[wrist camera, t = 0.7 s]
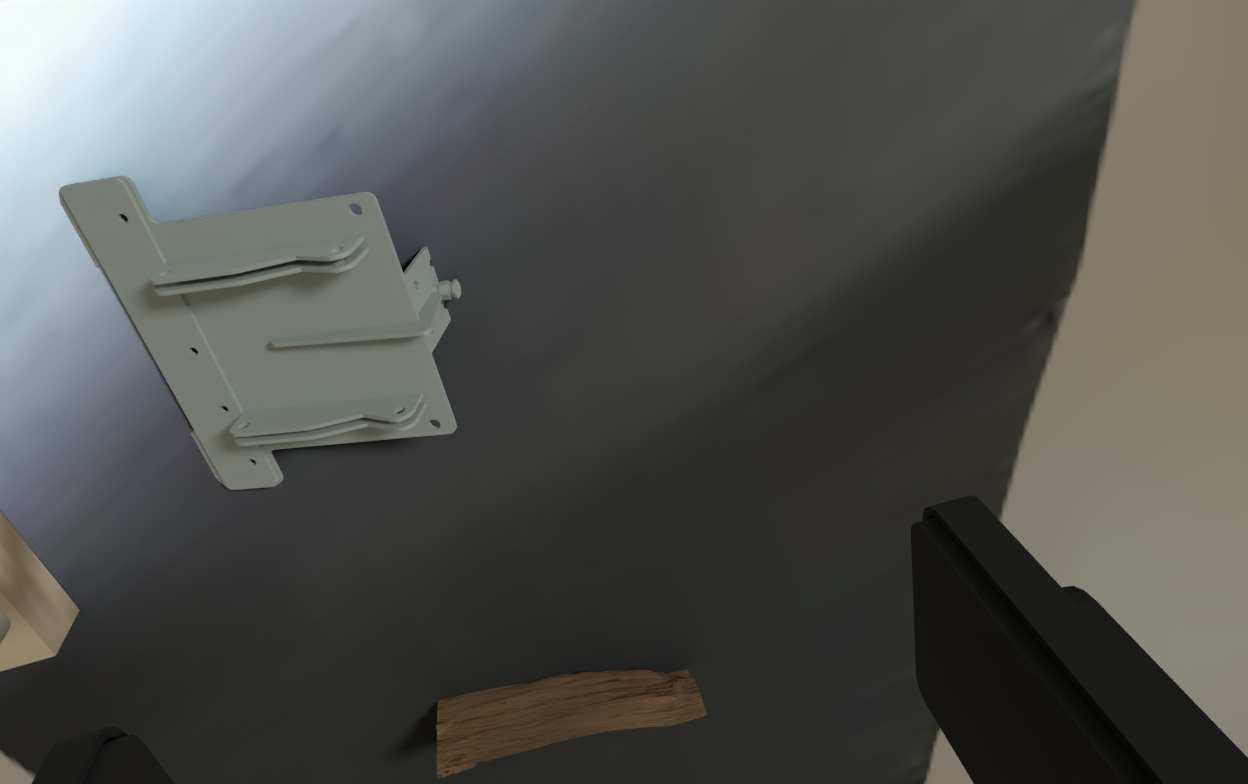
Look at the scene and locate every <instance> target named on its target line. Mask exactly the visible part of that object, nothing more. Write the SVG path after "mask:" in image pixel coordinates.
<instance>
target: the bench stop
mask: <svg viewBox="0 0 1248 784" xmlns="http://www.w3.org/2000/svg"><path fill="white" fill-rule="evenodd" d="M78 612H79V608H78V607H77V606H76V605H75V603H74V602H73V601H72V600H71V599H70V597H69V596H68V595H67V594H66V592H65V591H64V590H63V589H62V587H61V586H60V585H59V584H58V582H57V581H56V580H55V579H54V577H53V576H52V575H51V574H50V573H49V571H48V570H47V569H46V568H45V566H44V565H43V564H42V563H41V561H40V560H39V559H38V558H37V556H36V555H35V554H34V553H33V551H32V550H31V549H30V548H29V546H28V545H27V544H26V543H25V542H24V540H23V539H22V538H21V537H20V535H19V534H18V533H17V532H16V530H15V529H14V528H13V527H12V525H11V524H10V523H9V522H8V520H7V519H6V518H5V517H4V516H3V514H2V513H1V512H0V672H1V671H4V670H8V669H11V668H15V667H18V666H22V665H25V664H29V663H32V662H36V661H39V660H43V659H46V658H50V657H53V656H56V654H57V652H58V650H59V649H60V647H61V645H62V643H63V641H64V639H65V637H66V635H67V633H68V631H69V630H70V628H71V626H72V624H73V622H74V620H75V618H76V616H77V614H78Z"/></svg>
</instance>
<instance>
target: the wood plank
mask: <svg viewBox="0 0 1248 784" xmlns="http://www.w3.org/2000/svg"><path fill="white" fill-rule="evenodd" d="M437 707H438V709H437V724H436V730H437V772H438V778H442V777H446V776H448V775H453V774H454V773H458V772H461V771H464V770H467V769H471V768H473V767H475V766H476V765H477V764H479V763H482V762H486V761H490V760H493V759H496V758H499V757H504V756H508V755H512V754H516V753H520V752H523V751H527V750H531V749H534V748H538V747H542V746H546V745H549V744H552V743H556V742H560V741H564V740H567V739H572V738H576V737H581V736H586V735H591V734H596V733H600V732H607V731H616V730H624V729H632V728H641V727H657V726H671V725H674V724H678V723H682V722H686V721H689V720H691V719H696V718H700V717H702V716H705V715H706V714H707V713H706V709H705V706H704V703H703V700H702V697H701V694H700V692H699V689H698V687H697V685H696V682H695V680H694V678H693V676H690V675H689V672H688V670H683V671H678V672H673V673H667V674H665V673H655V672H653V671H650V670H640V669H638V670H635V669H630V670H610V671H598V672H594V671H592V672H582V673H578V674H561V675H555V676H550V677H546V678H542V679H538V680H535V681H531V682H527V683H523V684H517V685H512V686H505V687H499V688H494V689H488V690H483V691H478V692H473V693H469V694H465V695H460V696H456V697H452V698H447V699H443V700H438V704H437Z"/></svg>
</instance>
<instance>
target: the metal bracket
mask: <svg viewBox="0 0 1248 784" xmlns="http://www.w3.org/2000/svg"><path fill="white" fill-rule="evenodd" d="M59 194H60V203H61V205H62V207H63V209H64V210H65V212H66V214H67V216H68V218H69V219H70V221H71V223H72V225H73V226H74V228H75V230H76V232H77V233H78V235H79V237H80V239H81V240H82V242H83V244H84V246H85V247H86V249H87V251H88V253H89V255H90V256H91V258H92V260H93V262H94V263H95V265H96V267H100V268H102V269H103V270H104V271H105V272H106V274H107V276H108V278H109V280H110V281H111V283H112V285H113V287H114V288H115V290H116V292H117V294H118V296H119V297H120V299H121V301H122V303H123V304H124V306H125V308H126V310H127V312H128V313H129V315H130V317H131V319H132V320H133V322H134V324H135V326H136V328H137V329H138V331H139V333H140V335H141V336H142V338H143V340H144V342H145V344H146V345H147V347H148V349H149V351H150V352H151V354H152V356H153V358H154V360H155V361H156V363H157V365H158V367H159V368H160V370H161V372H162V374H163V376H164V377H165V379H166V381H167V383H168V384H169V386H170V388H171V390H172V392H173V393H174V395H175V397H176V399H177V400H178V402H179V404H180V406H181V408H182V409H183V411H184V413H185V415H186V416H187V418H188V420H189V422H190V424H191V425H192V427H193V429H194V431H193V432H192V433H191V435H192V436H193V438H194V440H195V442H196V443H197V445H198V447H199V449H200V450H201V452H202V454H203V456H204V457H205V459H206V461H207V463H208V465H209V466H210V468H211V470H212V472H213V473H214V475H215V477H216V479H217V480H219V481H220V482H221V483H222V484H223V485H225V486H226V487H227V488H229V489H230V490H240V489H252V488H264V487H274V486H276V485H277V484H279V483H281V482H282V480H283V474H282V472H281V470H280V468H279V466H278V464H277V462H276V460H275V459H274V457H273V455H272V450H276V449H287V448H298V447H309V446H320V445H331V444H342V443H353V442H365V441H376V440H387V439H398V438H409V437H420V436H431V435H442V434H451V433H454V431H455V430H456V428H457V424H456V421H455V418H454V415H453V413H452V410H451V407H450V404H449V401H448V398H447V396H446V393H445V390H444V387H443V384H442V381H441V379H440V376H439V373H438V370H437V367H436V364H435V362H434V359H433V356H432V352H433V350H434V348H435V347H436V345H437V343H438V341H439V340H440V338H441V336H442V335H443V333H444V331H445V329H446V328H447V326H448V324H449V322H450V321H451V319H450V316H449V313H448V310H447V309H444V302H445V300H451V298H452V297H455V298H456V299H459V297H460V295H461V288H460V284H459V282H458V281H457V279H454V280H453V282H449V280H447V281H441V282H440V283H439V282H438V279H437V276H436V273H435V270H434V267H433V266H430V259H431V258H430V255H429V252H428V249H427V247H422V249H421V250H420V251H419V253H418V254H417V255H416V257H415V258H414V259H413V261H412V262H411V263H410V265H409V266H408V267H407V269H406V270H405V271H404V273H403V271H402V268H401V265H400V262H399V260H398V257H397V254H396V251H395V248H394V245H393V243H392V240H391V237H390V234H389V231H388V228H387V226H386V223H385V220H384V217H383V214H382V211H381V209H380V206H379V203H378V200H377V198H376V197H375V195H373V194H372V193H370V192H361V193H355V194H348V195H341V196H335V197H328V198H322V199H315V200H308V201H302V202H295V203H288V204H282V205H275V206H268V207H262V208H255V209H249V210H242V211H235V212H229V213H222V214H215V215H209V216H202V217H196V218H189V219H182V220H176V221H169V222H157V221H156V220H154V219H153V218H152V217H151V215H150V214H149V212H148V210H147V208H146V206H145V204H144V202H143V200H142V198H141V196H140V194H139V192H138V190H137V188H136V186H135V184H134V183H133V181H132V180H131V179H129V178H128V177H126V176H118V177H112V178H106V179H100V180H94V181H88V182H82V183H76V184H69V185H66V186H63V187H61V189H60V191H59ZM352 203H354V204H358V205H359V206H360V207H361V208H362V214H361V215H356V214H354V213H353V212H352V211H351V209H350V205H351V204H352ZM121 214H124V215H125V216H126V217H127V219H128V222H127V221H124V220H123V218H122V216H121ZM158 284H159V285H158ZM192 348H195V349H196V350H197V351H198V353H195V352H193V350H192ZM222 406H225V407H227V408H228V411H226V410H224V409H223V407H222ZM432 419H434V420H437V421H439V422H440V424H441V426H439V427H435V426H433V425H432V424H431V423H430V420H432ZM251 459H253V460H255V462H256V463H253V462H252V461H251Z"/></svg>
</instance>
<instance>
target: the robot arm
mask: <svg viewBox="0 0 1248 784" xmlns="http://www.w3.org/2000/svg"><path fill="white" fill-rule="evenodd" d="M911 546H912V574H913V602H914V630H915V658H916V677H917V682H918V686H919V689H920V692H921V694H922V697H923V699H924V701H925V703H926V705H927V707H928V708H929V710H930V712H931V713H932V715H933V717H934V718H935V720H936V722H937V723H938V725H939V727H940V728H941V730H942V732H943V733H944V734H945V736H946V738H947V740H948V741H949V743H950V745H951V746H952V748H953V750H954V751H955V753H956V755H957V756H958V757H959V760H960V761H961V763H962V765H963V766H964V768H965V769H966V771H967V773H968V774H969V776H970V778H971V779H972V781H973V783H974V784H1248V758H1247V757H1246V756H1245V755H1244V753H1243V752H1242V751H1241V750H1240V749H1239V748H1238V747H1237V746H1236V745H1235V744H1234V743H1233V742H1232V741H1231V740H1230V739H1229V738H1228V737H1227V736H1226V735H1225V734H1224V733H1223V732H1222V731H1221V730H1220V729H1219V728H1218V727H1217V725H1216V724H1215V723H1214V722H1213V721H1212V720H1211V719H1210V718H1209V717H1208V716H1207V715H1206V714H1205V713H1204V712H1203V711H1202V710H1201V709H1200V708H1199V707H1198V706H1197V705H1196V704H1195V703H1194V702H1193V701H1192V700H1191V699H1190V698H1189V697H1188V695H1187V694H1186V693H1185V692H1184V691H1183V690H1182V689H1181V688H1180V687H1179V686H1178V685H1177V684H1176V683H1175V682H1174V681H1173V680H1172V679H1171V678H1170V677H1169V676H1168V675H1167V674H1166V673H1165V672H1164V671H1163V670H1162V668H1160V666H1159V665H1158V664H1157V663H1156V662H1155V661H1154V660H1153V659H1152V658H1151V657H1150V656H1149V655H1148V654H1147V653H1146V652H1145V651H1144V650H1143V649H1142V648H1141V647H1140V646H1139V645H1138V644H1137V643H1136V642H1135V640H1133V638H1132V637H1131V636H1130V635H1129V634H1128V633H1127V632H1126V631H1125V630H1124V629H1123V628H1122V627H1121V626H1120V625H1119V624H1118V623H1117V622H1116V621H1115V620H1114V619H1113V618H1112V617H1111V616H1110V615H1109V614H1108V613H1107V611H1106V610H1105V609H1104V608H1102V606H1101V605H1100V604H1099V603H1098V602H1097V601H1096V600H1095V599H1093V598H1092V597H1091V596H1090V595H1089V594H1087V593H1086V592H1085V591H1084V590H1082V589H1079V588H1077V587H1075V586H1070V587H1063V588H1062V587H1061V586H1059V584H1058V583H1057V582H1056V581H1055V580H1054V579H1053V578H1052V577H1051V576H1050V575H1049V574H1048V573H1047V571H1046V570H1045V569H1044V568H1043V567H1042V566H1041V565H1040V564H1039V563H1038V562H1037V561H1036V560H1035V559H1034V557H1033V556H1032V555H1031V554H1030V553H1029V552H1028V551H1027V550H1026V549H1025V548H1024V547H1023V546H1022V544H1021V543H1020V542H1019V541H1018V540H1017V539H1016V538H1015V537H1014V536H1013V535H1012V534H1011V533H1010V532H1009V531H1008V530H1007V528H1006V527H1005V526H1004V525H1003V524H1002V523H1001V522H1000V521H999V520H998V519H997V518H996V517H995V515H994V514H993V513H992V512H991V511H990V510H989V509H988V508H987V507H986V506H985V505H984V504H983V503H982V502H981V501H980V500H979V499H978V498H977V497H974V496H971V495H970V496H967V497H963V498H959V499H956V500H952V501H948V502H944V503H941V504H937V505H933V506H930V507H927V508H925V510H924V512H923V518H922V521H921V522H918V523H914V524H913V525H912V527H911ZM32 784H174V783H173V781H172V780H171V779H170V777H169V776H168V775H167V773H166V772H165V771H164V769H163V768H162V766H161V765H160V764H159V762H158V761H157V760H156V758H155V757H154V756H153V754H152V753H151V752H150V750H149V749H148V748H147V746H146V745H145V744H144V742H143V741H142V740H141V739H140V738H139V737H138V736H135V735H130V736H128V735H127V734H126V733H125V732H124V731H123V730H122V729H119V728H116V727H110V728H106V729H102V730H98V731H94V732H91V733H87V734H83V735H80V736H76V737H72V738H68V739H65V740H61V741H59V742H58V743H57V744H55V745H54V746H53V747H52V748H51V750H50V751H49V753H48V754H47V756H46V758H45V759H44V761H43V763H42V765H41V767H40V769H39V771H38V773H37V775H36V776H35V778H34V780H33V782H32Z"/></svg>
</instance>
